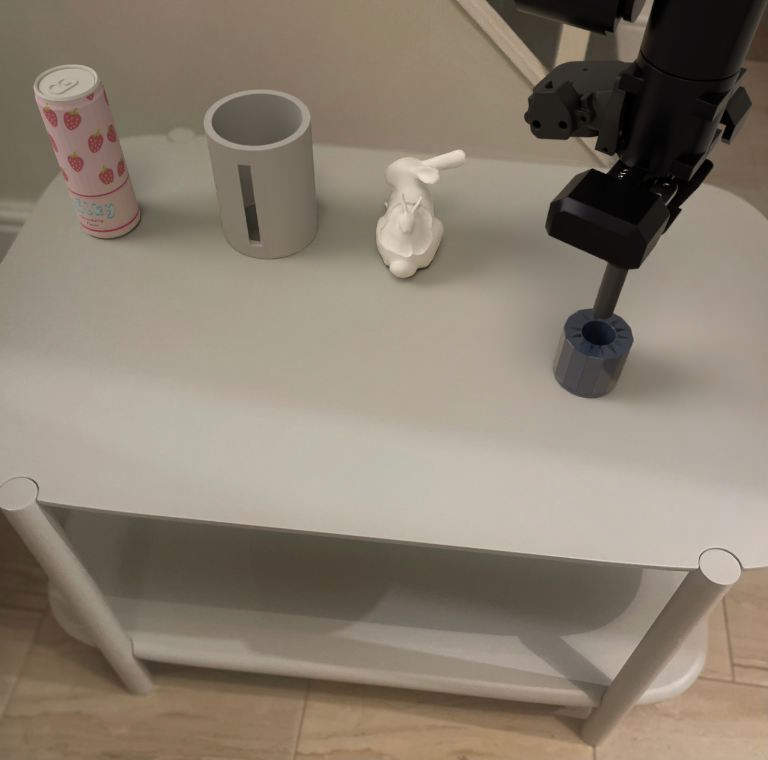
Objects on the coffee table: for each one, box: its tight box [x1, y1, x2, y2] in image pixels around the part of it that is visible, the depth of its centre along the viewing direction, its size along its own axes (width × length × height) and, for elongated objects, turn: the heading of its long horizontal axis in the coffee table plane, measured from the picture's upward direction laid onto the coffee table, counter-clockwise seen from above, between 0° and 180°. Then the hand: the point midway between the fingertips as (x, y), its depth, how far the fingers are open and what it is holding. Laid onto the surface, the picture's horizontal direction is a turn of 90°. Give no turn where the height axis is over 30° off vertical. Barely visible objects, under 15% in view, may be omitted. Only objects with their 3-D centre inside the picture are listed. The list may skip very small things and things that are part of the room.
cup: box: [203, 88, 319, 260], centre depth 73 cm, size 9×9×12 cm
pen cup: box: [552, 307, 635, 399], centre depth 65 cm, size 5×6×5 cm
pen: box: [592, 262, 630, 319], centre depth 58 cm, size 2×2×9 cm
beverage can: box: [33, 63, 141, 239], centre depth 72 cm, size 6×6×15 cm
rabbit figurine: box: [375, 149, 467, 279], centre depth 72 cm, size 12×8×10 cm, turn 173°
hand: (621, 257), depth 57 cm, fingers closed on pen, 2 cm apart
